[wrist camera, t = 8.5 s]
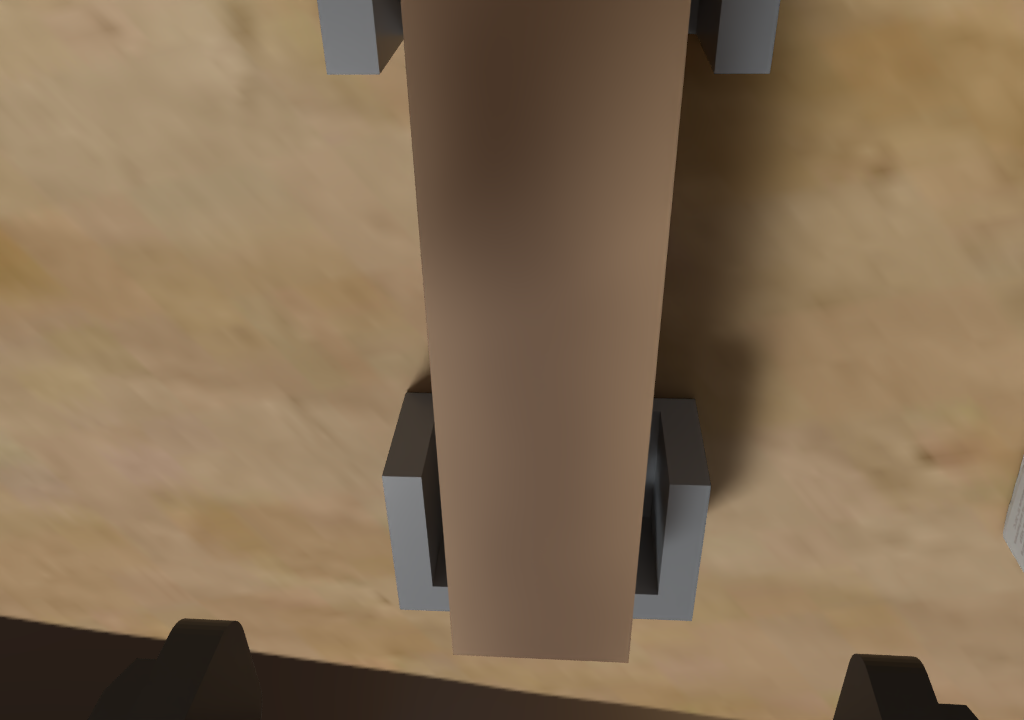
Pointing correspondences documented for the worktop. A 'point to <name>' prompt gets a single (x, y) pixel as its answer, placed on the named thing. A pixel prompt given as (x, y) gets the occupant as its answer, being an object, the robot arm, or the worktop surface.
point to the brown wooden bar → (543, 302)
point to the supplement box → (1016, 520)
